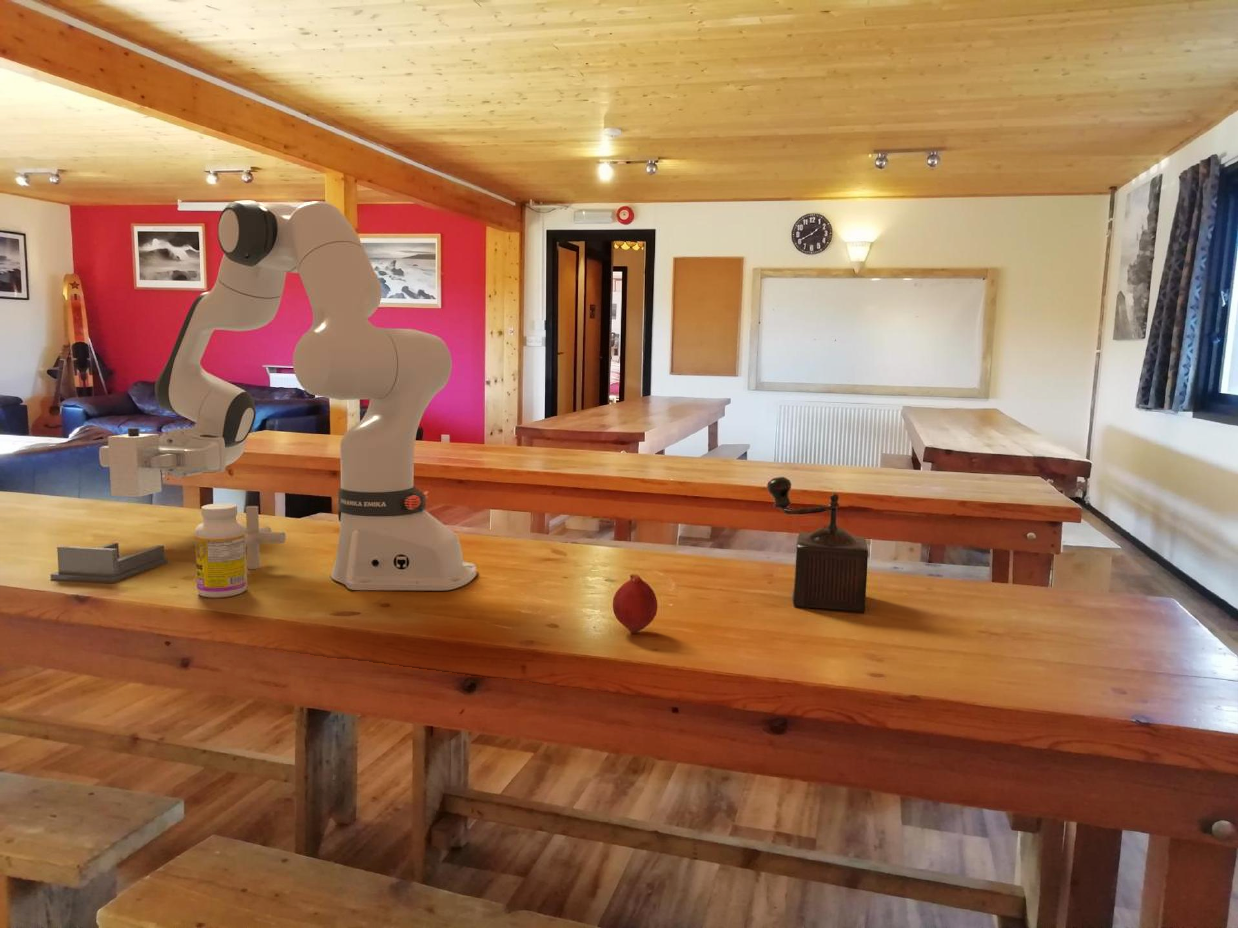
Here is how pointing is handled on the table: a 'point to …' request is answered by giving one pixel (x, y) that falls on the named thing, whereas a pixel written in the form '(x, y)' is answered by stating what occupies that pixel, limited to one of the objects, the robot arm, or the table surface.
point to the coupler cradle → (104, 563)
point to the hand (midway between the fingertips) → (131, 462)
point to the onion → (635, 604)
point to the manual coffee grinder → (825, 560)
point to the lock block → (133, 464)
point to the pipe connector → (258, 537)
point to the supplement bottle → (220, 552)
